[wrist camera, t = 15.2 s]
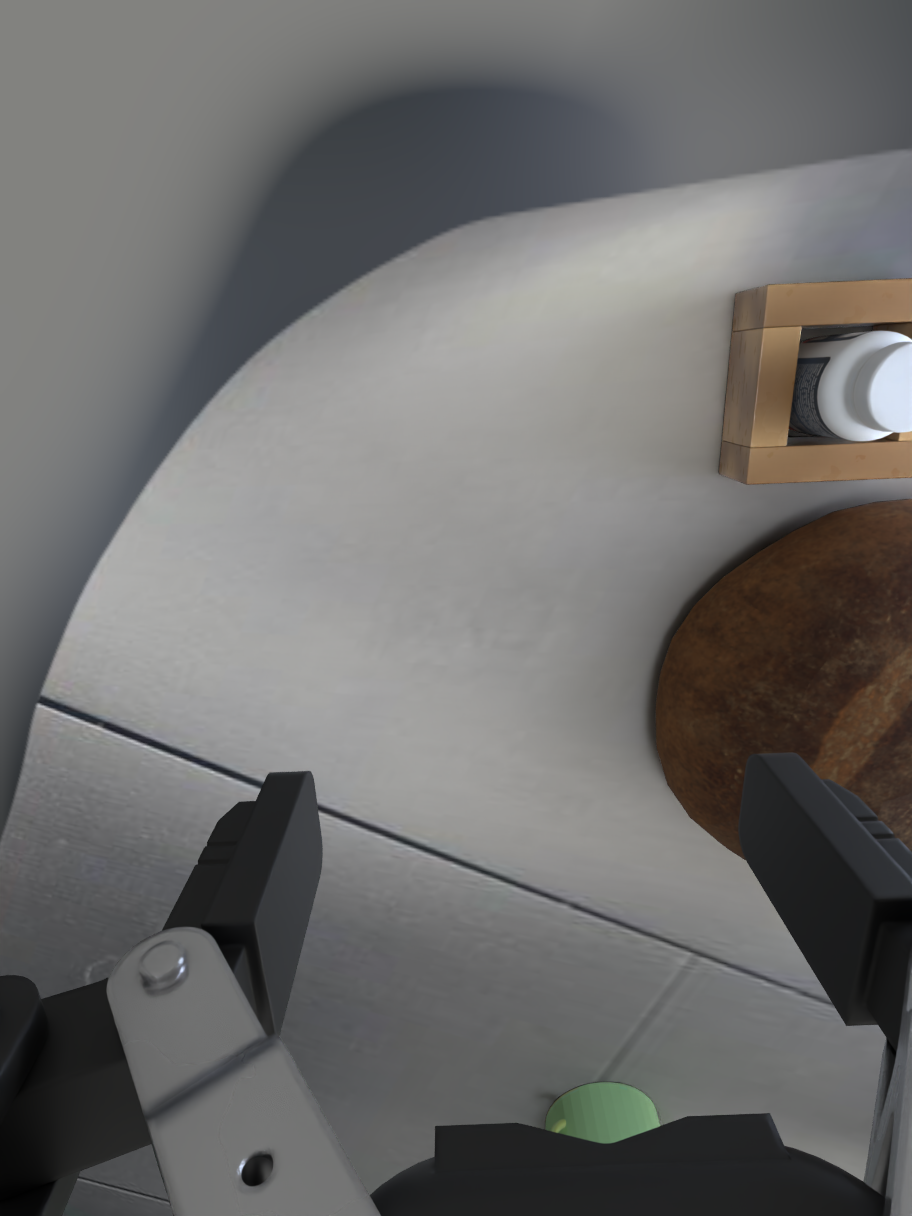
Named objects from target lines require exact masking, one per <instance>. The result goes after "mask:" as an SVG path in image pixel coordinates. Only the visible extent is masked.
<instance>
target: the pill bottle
mask: <svg viewBox="0 0 912 1216" xmlns="http://www.w3.org/2000/svg"><path fill="white" fill-rule="evenodd" d="M789 429H790V430H793V431H796V432H801V433H807V434H813V435H819V436H825V437H831V438H837V439H844V440H850V441H871V440H876V439H880V438H883V437H885V436H887V435H889V434H891V433H893V432H897V433H902V432H910V431H912V340H911V339H910V338H908V337H907V336H905V335H902V334H900V333H897V332H892V331H868V332H858V333H849V334H840V335H830V336H821V337H815V338H811V339H807V340H805V341H802V342H800V344H799V351H798V359H797V367H796V375H795V383H794V391H793V399H792V407H791V415H790V423H789Z"/></svg>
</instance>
